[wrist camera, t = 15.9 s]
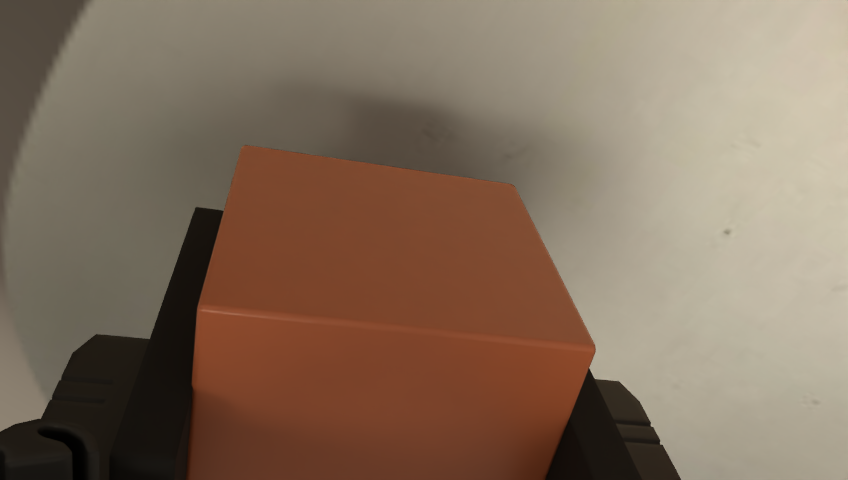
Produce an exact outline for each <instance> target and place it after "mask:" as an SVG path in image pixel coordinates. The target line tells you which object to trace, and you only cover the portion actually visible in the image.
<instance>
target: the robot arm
mask: <svg viewBox="0 0 848 480" xmlns="http://www.w3.org/2000/svg"><path fill="white" fill-rule="evenodd" d="M223 212H224V211H222V210H214V209H207V208H199V207H196V208H195V211H194V213H193V216H192V219H191V222H190V225H189V228H188V231H187V234H186V236H185V239H184V242H183V245H182V248H181V251H180V254H179V257H178V259H177V262H176V265H175V268H174V271H173V274H172V277H171V280H170V282H169V285H168V288H167V291H166V294H165V297H164V300H163V303H162V306H161V308H160V311H159V314H158V317H157V320H156V323H155V326H154V329H153V331H152V334H151V337H150V339H142V338H132V337H121V336H110V335H100V334H96V335H94V336H93V337H92V338H91V339H89V340H88V341H87V342H86V343H84V344H83V345H82V346H81V347H80V348H78V349H77V350H76V351H75V352H73V354H72V356H71V358H70V360H69V362H68V364H67V366H66V368H65V370H64V372H63V374H62V378H61V381H60V380H59V383H58V385H57V387H56V389H55V391H54V393H53V395H52V400H50V401H49V403H48V405H47V407H46V409H45V412H44V414H43V416H42V418H41V419H36V420H32V421H28V422H23V423H19V424H15V425H13V426H11V427H9V428H7V429H5V430H3V431H1V432H0V480H186V470H187V457H188V444H189V430H190V417H191V404H192V391H193V387H192V385H191V383H192V370H193V357H194V343H195V330H196V316H197V307H198V303H199V299H200V296H201V292H202V288H203V285H204V281H205V278H206V274H207V270H208V267H209V263H210V259H211V256H212V252H213V248H214V245H215V241H216V237H217V234H218V230H219V227H220V223H221V219H222V216H223ZM650 424H651V422H650V420H649V419H648V417H647V415H646V413H645V411H644V409H643V407H642V405H641V404H640V402H639V401H638V400H637V399H636V398H635V397H634V396H633V395H632V394H631V393H630V392H629V391H628V390H627V389H626V388H625V387H624V386H623V385H622V384H621V383H620V382H619V381H608V380H598V379H594V377H593V375H592V373H591V371H590V369H588V372H587V374H586V377H585V380H584V382H583V385H582V387H581V390H580V392H579V395H578V397H577V400H576V402H575V405H574V408H573V410H572V413H571V415H570V418H569V420H568V423H567V425H566V428H565V430H564V433H563V436H562V438H561V441H560V443H559V446H558V448H557V451H556V453H555V456H554V458H553V461H552V464H551V466H550V469H549V471H548V474H547V476H546V479H545V480H681V479H680V477H679V475H678V473H677V471H676V469H675V467H674V465H673V464H672V462H671V460H670V458H669V456H668V454H667V452H666V450H665V449H664V447H663V445H660V439H659V437H658V435H657V434H656V432H655V430H654V428H653V427H651V426H650Z"/></svg>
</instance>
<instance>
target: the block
mask: <svg viewBox="0 0 848 480" xmlns="http://www.w3.org/2000/svg"><path fill="white" fill-rule="evenodd" d="M595 350H596V349H595V344H594V342H593V340H592V338H591V336H590V334H589V332H588V330H587V328H586V326H585V324H584V322H583V320H582V318H581V316H580V314H579V312H578V310H577V309H576V307H575V305H574V303H573V301H572V299H571V297H570V295H569V293H568V291H567V289H566V287H565V285H564V283H563V281H562V279H561V277H560V275H559V273H558V271H557V269H556V267H555V265H554V263H553V261H552V259H551V257H550V255H549V253H548V251H547V249H546V247H545V245H544V243H543V241H542V239H541V237H540V235H539V233H538V231H537V229H536V227H535V225H534V224H533V222H532V220H531V218H530V216H529V214H528V212H527V210H526V208H525V206H524V204H523V202H522V200H521V198H520V196H519V194H518V192H517V190H516V188H515V186H514V185H512V184H506V183H499V182H493V181H486V180H479V179H472V178H466V177H459V176H452V175H445V174H438V173H432V172H425V171H418V170H411V169H404V168H398V167H391V166H384V165H377V164H371V163H364V162H357V161H350V160H343V159H337V158H330V157H323V156H316V155H309V154H303V153H296V152H289V151H282V150H275V149H269V148H262V147H255V146H248V145H245V146H242V148H241V150H240V154H239V157H238V161H237V165H236V168H235V172H234V176H233V179H232V183H231V186H230V190H229V194H228V197H227V201H226V205H225V208H224V212H223V216H222V219H221V223H220V227H219V230H218V234H217V237H216V241H215V245H214V248H213V252H212V256H211V259H210V263H209V267H208V270H207V274H206V278H205V281H204V285H203V288H202V292H201V296H200V299H199V303H198V307H197V316H196V330H195V343H194V357H193V370H192V383H191V385H192V387H193V391H192V404H191V417H190V430H189V444H188V457H187V470H186V480H545V479H546V476H547V474H548V471H549V469H550V466H551V464H552V461H553V458H554V456H555V453H556V451H557V448H558V446H559V443H560V441H561V438H562V436H563V433H564V430H565V428H566V425H567V423H568V420H569V418H570V415H571V413H572V410H573V408H574V405H575V402H576V400H577V397H578V395H579V392H580V390H581V387H582V385H583V382H584V380H585V377H586V374H587V372H588V369H589V367H590V364H591V362H592V359H593V357H594V354H595Z"/></svg>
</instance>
